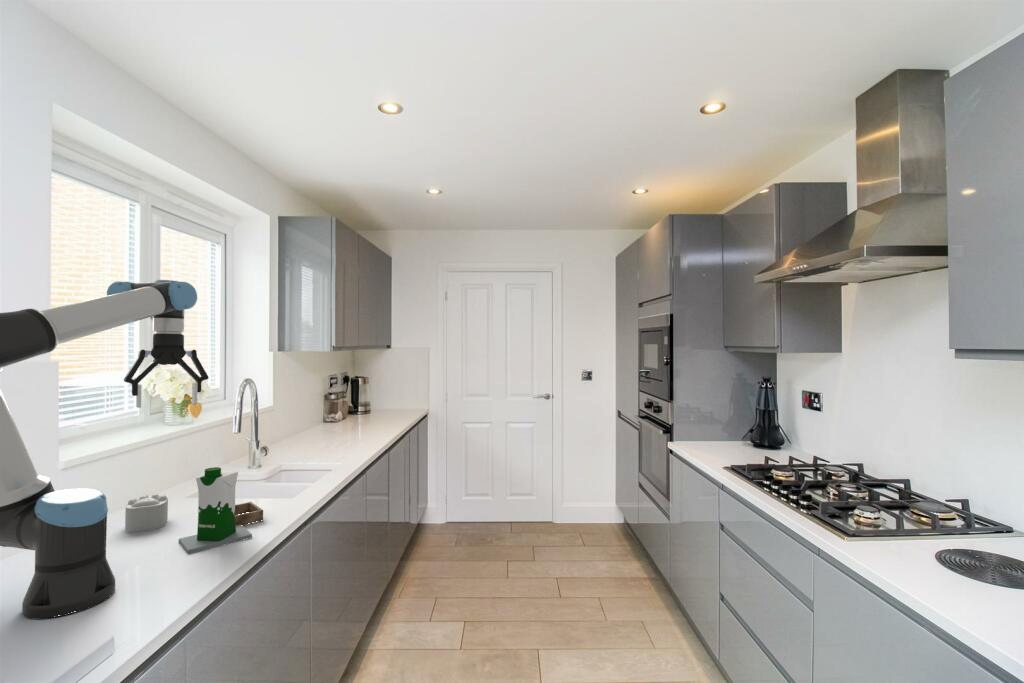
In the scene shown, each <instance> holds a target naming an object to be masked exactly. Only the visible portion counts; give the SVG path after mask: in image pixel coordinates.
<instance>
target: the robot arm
mask: <svg viewBox="0 0 1024 683" xmlns="http://www.w3.org/2000/svg"><path fill="white" fill-rule="evenodd" d="M197 302H198V292H197V290H196V288H195V287H194V286H193V285H192V284H191V283H189V282H187V281H178V280H170V279H156V280H154V281H153V282H129V281H119V280H118V281H115V282H112V283H111V284H109V286H108V287H107V290H106V295H105V296H102V297H101V296H100V297H96V298H92V299H88V300H82V301H79V302H74V303H70V304H66V305H61V306H58V307H54V308H53V307H52V308H49V309H44V310H38V309H36V308H26V309H21V310H15V311H14V310H13V311H6V312H0V373H1V372H2V371H3V368H4V367H7V366H11V365H14V364H17V363H19V362H23V361H26V360H29V359H31V358H35V357H37V356H42V355H44V354H47V353H51V352H53V351H54V350H55V349H56V348H57V346H58V345H59V344H64V343H67V342H71V341H74V340H77V339H81V338H84V337H87V336H90V335H94V334H97V333H101V332H105V331H107V330H111V329H114V328H118V327H121V326H125V325H128V324H131V323H134V322H139V321H141V320H145V319H148V318H151V317H152V331H153V332H154V333H153V335H152V348H151V350H145V349H139V350H138V354H137V355H138V356H137V358H136V359H135V361H134V363H133V364H132V366H131V367H130V369H129V371H127V374H126V375H125V377H124V378H123V382H125V383H127V384H131V395H132V396H133V397H135V396H136V398H135V399H136V401H135V402H136V403H135V406H136V408H138V409H140V408H142V388H143V387H142V384H140V382H141V381H142V380H143V379H144V378H145V377H146V376H148V375H149V374H150V373H151V371H152V370H153V369H155V368H156V367H157V366H158V365H161V366H167V365H171V366H173V365H174V366H175V365H177V364H178V365H179V366H180V367H181V368H182V369H183V370H184V371H185V372H186V373H187V374H188V375H189V376H190V377H191V378H192V379H193V380H194V381H191V382H192V387H191V388H192V389H191V390H192V391H191V394H192V396H191V403H192V404H193V405H197V404H198V393H201V392H202V383H203V382H204V381H206V380H209V379H210V378H209V375H208V374H207V371H206V370H205V368H204V366H203V365H202V363H201V361H200V359H199V357H198V352H197V350H196V349H191V350H185V335H184V334H183V333H184V332H185V310H190V309H192V308H193V307H194V306H195V305H196V303H197ZM149 355H150V356H151V357H152V358H153V360H152V361H151V362H150V363H149V364H148V365H147V366H146V367H145V368H144V369H143V370H142V371H141V372H139V374H137V375H136V377H135V378H133V377H134V375H135V374H136V373H137V371H138V370H139V368H140V366H141V365H142V363H143V362H144V360H145V358H148V356H149ZM185 356H187V357H189V358H190V359H191V361H192V363H193V365H194V366H195V369H196V370H197V371H198V373H199V375H200V376H199V375H198V374H197V373H196V371H194V370H193V369H192V368H191V366H189V365H188V364H187V363H186V362H185V360H184V359H183V358H184V357H185ZM35 468H36V467H35V465H34V464H33V461H32V458H31V457H30V454H29V452H28V450H27V448H26V445H25V443H24V441H23V438H22V435H21V433H20V430H19V429H18V426H17V425H16V422H15V420H14V417H13V414H12V413H11V410H10V409H9V406H8V404H7V401H6V399H5V397H4V394H3V392H2V390H1V388H0V547H2V548H3V547H5V548H13V549H21V550H28V551H34V573H33V576H32V578H31V581H30V584H29V586H28V588H27V591H26V594H25V596H24V598H23V600H22V605H21V606H22V608H21V610H22V612H21V613H22V616H23V615H24V616H23V617H25V616H26V617H25V618H27V617H29V618H28V619H32V618H45V619H49V618H48V617H53V618H55V617H54V616H58V615H64V616H66V615H65V614H68V613H71V612H74V611H78V612H80V611H79V610H82V609H84V610H87V609H89V608H88V607H90V608H92V607H94V606H96V604H97V605H99V604H100V602H101V603H102V602H105V601H106V600H107V599H109V598H110V597H111V596H113V594H115V592H114V591H116V579H115V575H114V573H113V571H112V569H111V566H110V564H109V562H108V560H107V530H108V529H107V527H108V523H107V522H108V512H109V507H108V503H107V497H106V495H105V493H103V491H100V490H99V489H93V488H87V487H86V488H85V487H84V488H83V487H82V488H75V487H73V488H65V489H59V490H55V489H54V486H53V484H52V481H51V479H50V477H48V476H45V475H41V474H38V473H37V471H36V469H35ZM110 595H111V596H110ZM109 596H110V597H109ZM108 597H109V598H108ZM105 599H106V600H105ZM98 603H99V604H98ZM86 608H87V609H86ZM82 611H83V610H82ZM68 615H69V614H68Z"/></svg>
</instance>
